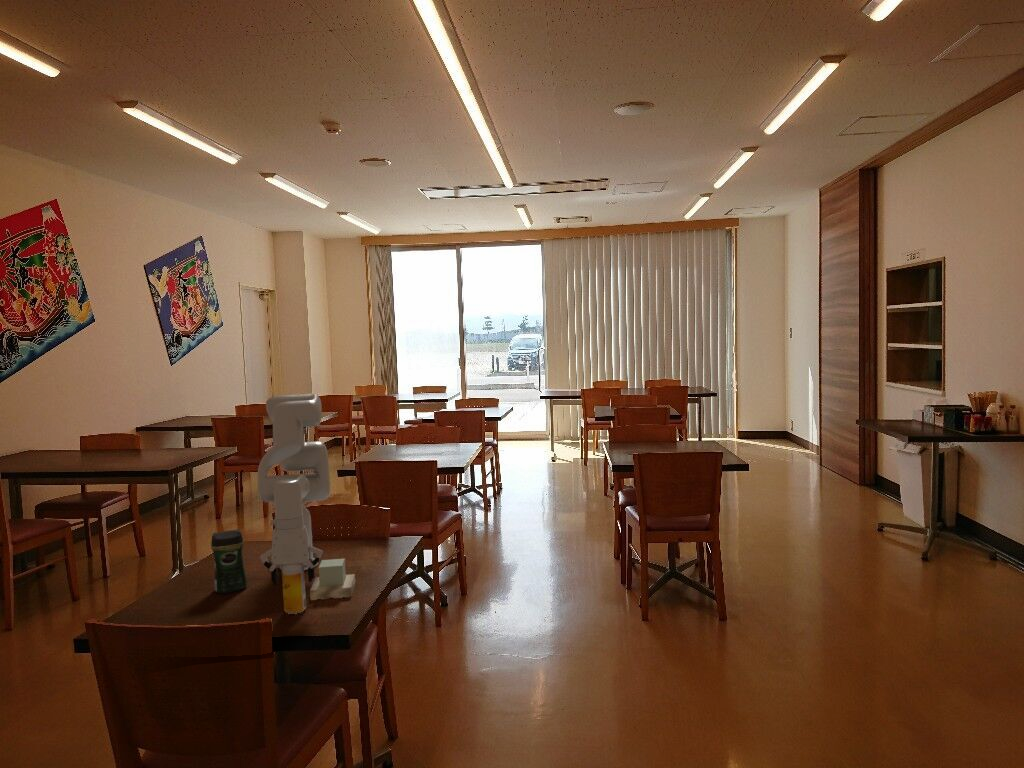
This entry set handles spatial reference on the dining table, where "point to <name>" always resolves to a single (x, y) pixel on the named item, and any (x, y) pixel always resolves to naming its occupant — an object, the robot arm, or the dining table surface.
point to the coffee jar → (228, 561)
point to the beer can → (293, 588)
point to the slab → (333, 589)
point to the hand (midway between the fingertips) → (293, 582)
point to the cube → (332, 572)
